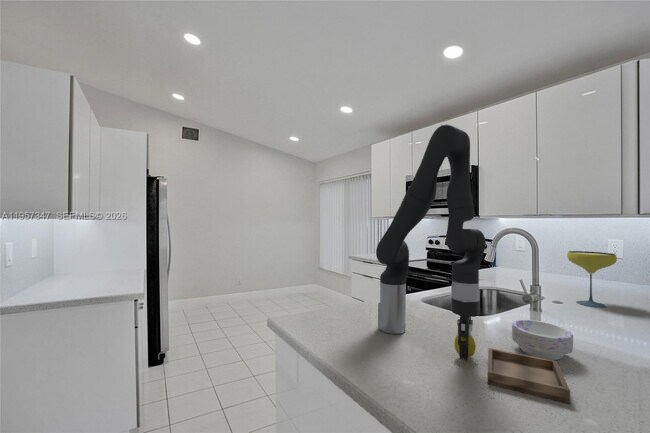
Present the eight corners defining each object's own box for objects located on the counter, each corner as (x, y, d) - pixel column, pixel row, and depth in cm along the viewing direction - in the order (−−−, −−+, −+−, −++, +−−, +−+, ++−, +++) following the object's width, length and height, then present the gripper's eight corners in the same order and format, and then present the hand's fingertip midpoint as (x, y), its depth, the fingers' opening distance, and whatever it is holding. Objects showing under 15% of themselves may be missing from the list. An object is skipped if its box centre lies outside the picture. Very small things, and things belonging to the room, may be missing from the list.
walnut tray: (487, 383, 74) (487, 371, 74) (488, 358, 88) (488, 347, 88) (569, 403, 67) (569, 390, 67) (556, 372, 80) (556, 360, 81)
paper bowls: (577, 370, 81) (577, 341, 82) (511, 356, 90) (511, 329, 90) (568, 350, 94) (568, 324, 94) (511, 339, 102) (511, 316, 103)
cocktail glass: (578, 307, 141) (578, 254, 141) (560, 298, 158) (560, 250, 158) (626, 311, 136) (626, 256, 136) (602, 301, 153) (602, 251, 153)
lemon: (477, 364, 84) (478, 335, 85) (456, 362, 86) (456, 334, 86) (472, 355, 90) (472, 328, 90) (452, 353, 91) (452, 327, 91)
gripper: (454, 290, 96) (453, 341, 96) (448, 301, 83) (448, 359, 83) (480, 293, 92) (480, 346, 92) (478, 305, 80) (478, 366, 80)
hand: (464, 352), depth 88 cm, fingers open, 8 cm apart
